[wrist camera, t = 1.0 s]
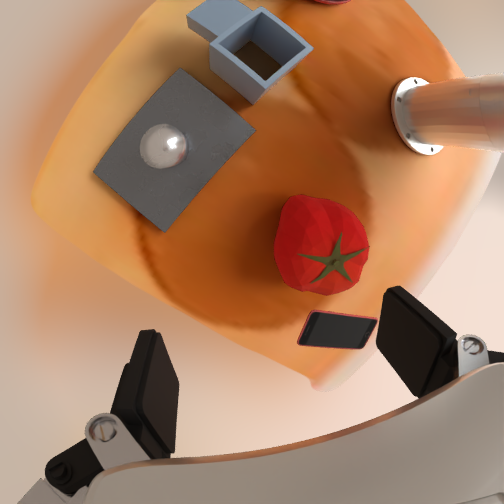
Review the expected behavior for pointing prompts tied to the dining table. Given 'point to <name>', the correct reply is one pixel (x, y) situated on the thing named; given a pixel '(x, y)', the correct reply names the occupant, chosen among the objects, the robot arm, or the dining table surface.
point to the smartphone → (336, 330)
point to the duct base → (201, 158)
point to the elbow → (240, 33)
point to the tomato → (319, 245)
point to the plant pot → (333, 1)
